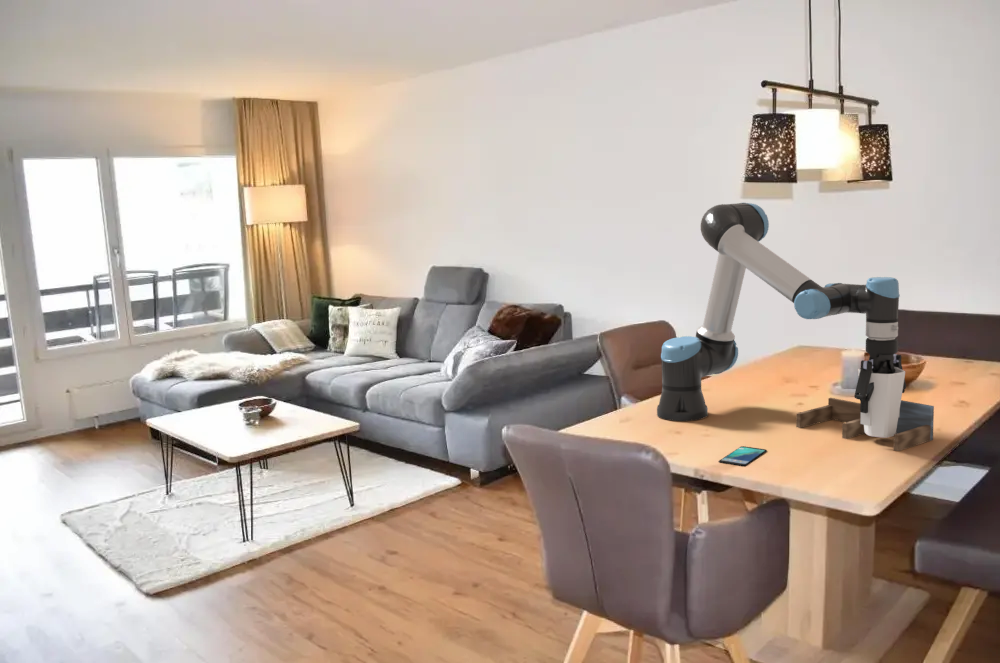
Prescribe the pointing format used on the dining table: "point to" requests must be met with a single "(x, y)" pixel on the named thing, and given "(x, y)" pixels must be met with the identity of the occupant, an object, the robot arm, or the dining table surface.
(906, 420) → the wooden divider rack
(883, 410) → the cup
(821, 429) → the dining table surface
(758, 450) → the smartphone
